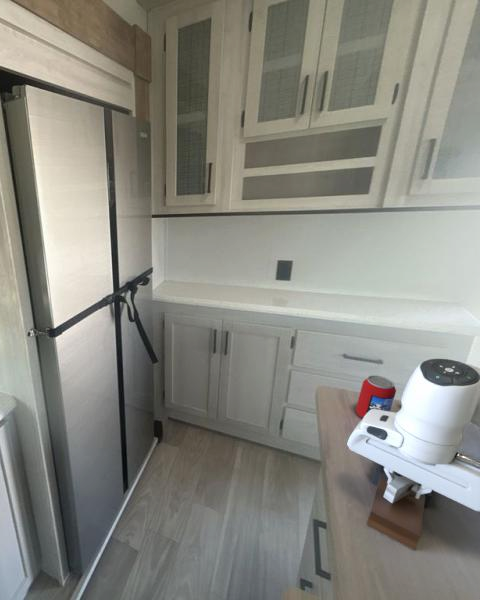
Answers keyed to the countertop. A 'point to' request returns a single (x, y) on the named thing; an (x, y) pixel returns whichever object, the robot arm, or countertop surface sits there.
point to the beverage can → (375, 395)
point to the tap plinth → (397, 516)
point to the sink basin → (380, 472)
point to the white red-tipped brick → (398, 488)
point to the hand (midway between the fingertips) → (403, 489)
